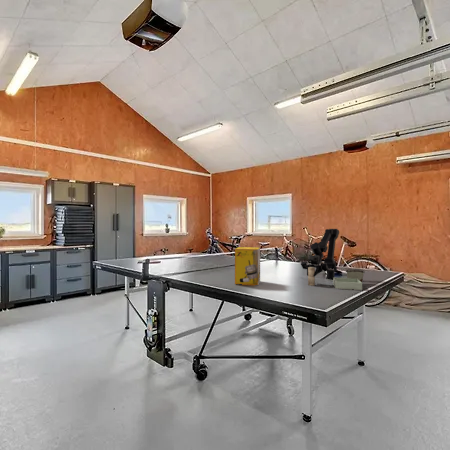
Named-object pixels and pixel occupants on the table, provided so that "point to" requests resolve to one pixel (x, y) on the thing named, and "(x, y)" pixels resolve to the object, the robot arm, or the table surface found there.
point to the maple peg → (311, 276)
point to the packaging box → (247, 266)
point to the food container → (355, 274)
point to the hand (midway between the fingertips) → (310, 275)
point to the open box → (347, 283)
